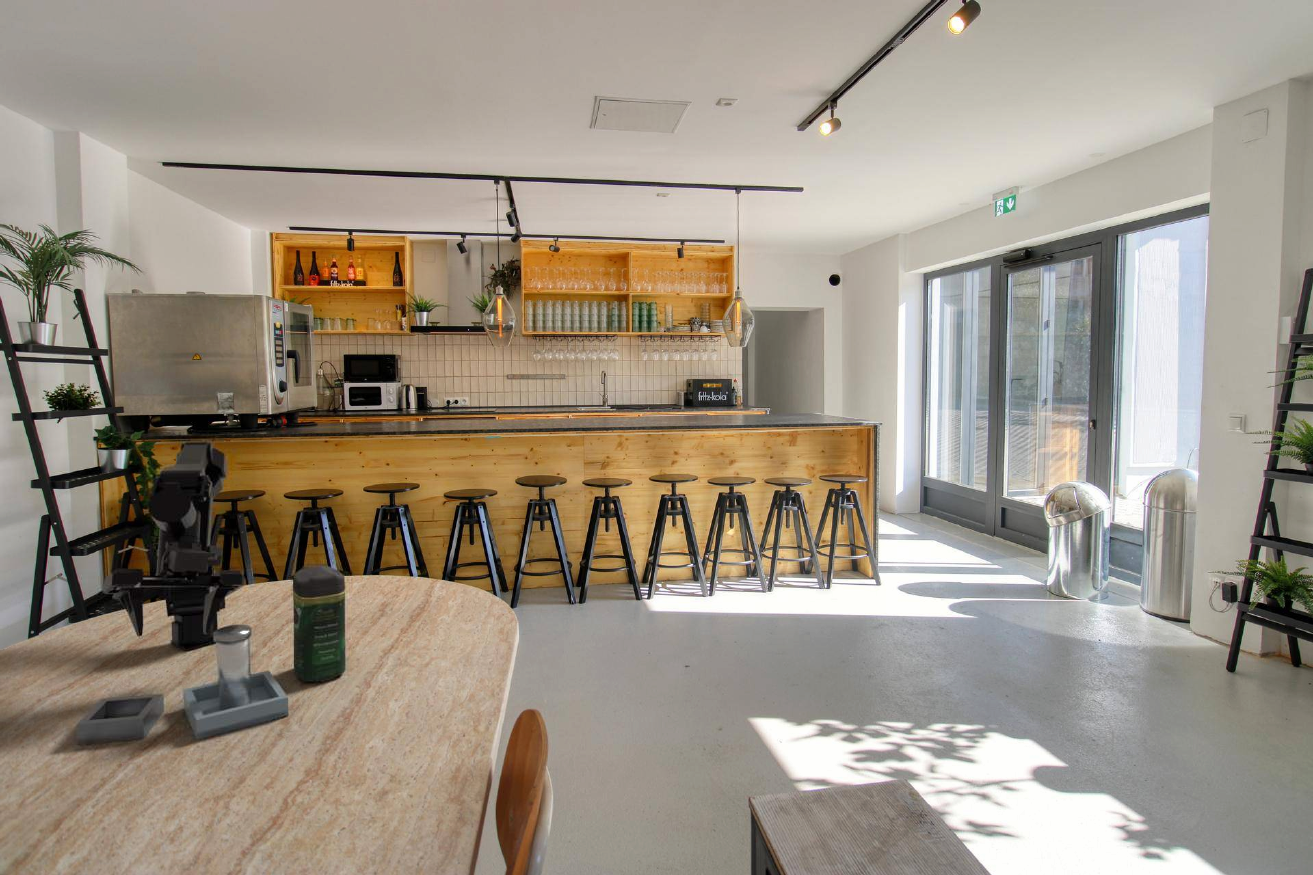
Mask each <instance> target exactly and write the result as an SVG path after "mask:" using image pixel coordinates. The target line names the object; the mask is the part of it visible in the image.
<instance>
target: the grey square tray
mask: <svg viewBox="0 0 1313 875" xmlns="http://www.w3.org/2000/svg"><path fill="white" fill-rule="evenodd" d="M164 695H165V694H164V693H157V694H155V693H154V694H143V695H132V696H121V697H119V696H118V697H107V698H101V699H100V700H99V701H98V702H97V703H96V704H95V705H94V706H93V707H92V708H91V709H89V711H88V712H87V713H86V715H84V716H83V717H82V718H81V719H80V720H79V722H77V724H76V736H77V737H76V740H77V742H76V743H77V746H80V745H91V744H94V745H95V744H102V743H114V742H121V741H122V742H123V741H133V740H143V739H145V738H146V737H147V736H148V734H149V733H150V731H151V730H152V729H153V728H154V726H155V725H156V724H157V722H158V721H159V720H160V718H161V717H162V716H163V715H164V713H165V701H164V699H165V698H164V697H165V696H164ZM162 714H163V715H162Z"/></svg>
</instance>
